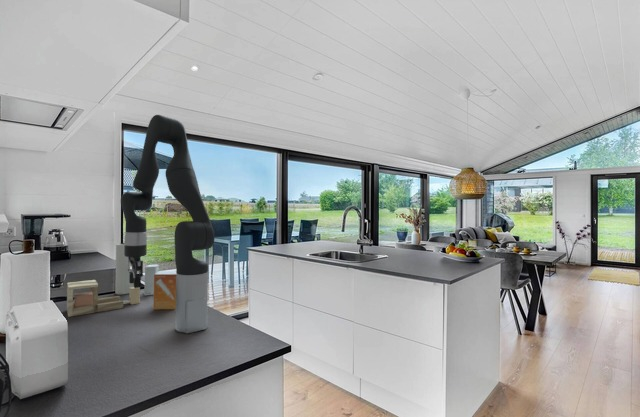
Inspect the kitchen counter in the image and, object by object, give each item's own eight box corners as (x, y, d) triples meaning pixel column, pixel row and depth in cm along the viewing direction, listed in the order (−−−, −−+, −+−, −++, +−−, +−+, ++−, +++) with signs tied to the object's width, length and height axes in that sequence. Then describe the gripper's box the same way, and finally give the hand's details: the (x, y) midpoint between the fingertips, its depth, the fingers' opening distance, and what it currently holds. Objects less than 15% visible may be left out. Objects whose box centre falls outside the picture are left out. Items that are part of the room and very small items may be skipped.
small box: (152, 310, 117) (153, 274, 117) (159, 304, 123) (159, 270, 123) (176, 309, 118) (177, 273, 118) (181, 304, 124) (182, 270, 124)
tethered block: (140, 303, 124) (140, 288, 124) (75, 314, 111) (75, 296, 111) (137, 300, 128) (137, 285, 128) (74, 310, 115) (74, 293, 115)
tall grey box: (111, 293, 137) (112, 243, 137) (125, 290, 143) (126, 242, 143) (123, 296, 134) (124, 244, 134) (136, 292, 140) (137, 243, 140)
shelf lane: (123, 307, 119) (123, 281, 119) (68, 316, 108) (68, 287, 108) (119, 302, 126) (119, 277, 126) (66, 310, 115) (67, 282, 115)
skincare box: (155, 295, 137) (155, 266, 137) (144, 295, 136) (144, 267, 136) (158, 291, 142) (159, 264, 142) (148, 291, 141) (148, 264, 141)
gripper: (150, 245, 122) (149, 287, 122) (142, 241, 133) (141, 280, 133) (128, 246, 117) (127, 290, 118) (121, 242, 128) (120, 282, 128)
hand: (134, 285), depth 125 cm, fingers open, 8 cm apart
